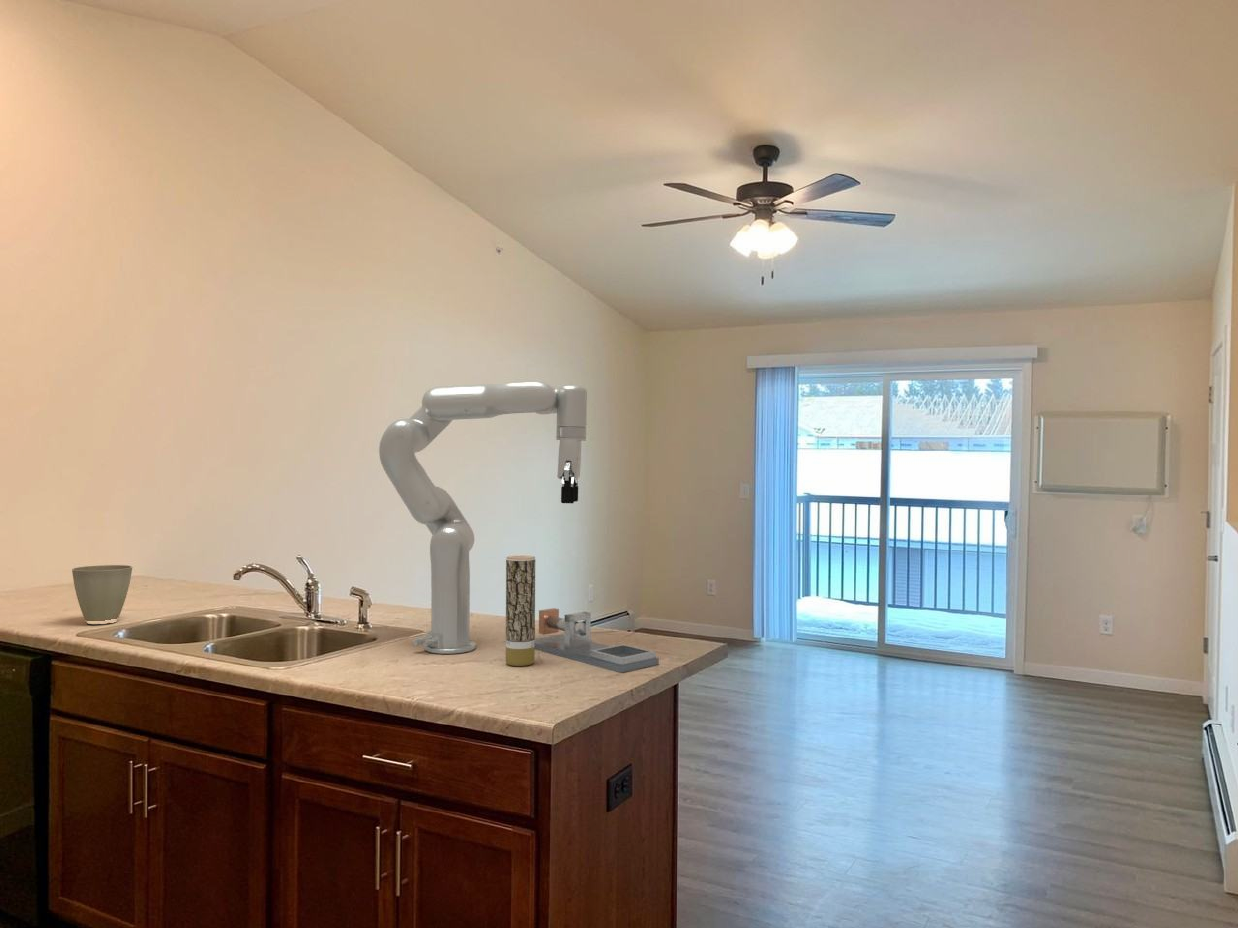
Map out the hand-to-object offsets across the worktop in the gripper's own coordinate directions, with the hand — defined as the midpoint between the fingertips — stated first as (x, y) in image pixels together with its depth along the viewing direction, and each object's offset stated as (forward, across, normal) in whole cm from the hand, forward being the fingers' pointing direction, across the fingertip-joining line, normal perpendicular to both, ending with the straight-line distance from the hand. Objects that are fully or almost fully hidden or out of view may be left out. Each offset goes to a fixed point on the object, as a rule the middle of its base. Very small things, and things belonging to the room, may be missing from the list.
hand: (569, 502), depth 216 cm
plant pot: (+40, -22, -136) cm, 143 cm away
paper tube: (+38, +16, -9) cm, 42 cm away
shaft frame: (+37, +6, +6) cm, 38 cm away
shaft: (+34, -1, -1) cm, 34 cm away
